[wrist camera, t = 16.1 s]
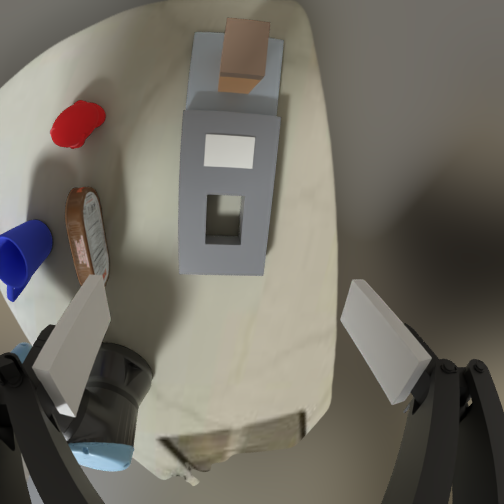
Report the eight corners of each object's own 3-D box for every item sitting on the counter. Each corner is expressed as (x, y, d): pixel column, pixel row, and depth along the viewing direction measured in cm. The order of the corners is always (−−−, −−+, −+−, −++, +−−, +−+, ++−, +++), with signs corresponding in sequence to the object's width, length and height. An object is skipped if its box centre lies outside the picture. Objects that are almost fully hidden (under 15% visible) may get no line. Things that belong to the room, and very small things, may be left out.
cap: (59, 163, 30) (79, 153, 27) (38, 131, 25) (55, 115, 23) (94, 132, 34) (117, 120, 32) (76, 102, 30) (98, 86, 27)
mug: (18, 265, 37) (-10, 293, 28) (26, 206, 33) (-9, 226, 24) (51, 284, 40) (26, 316, 31) (62, 225, 36) (30, 250, 27)
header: (181, 263, 42) (179, 274, 38) (186, 112, 33) (183, 109, 29) (259, 264, 43) (263, 276, 40) (274, 118, 35) (281, 117, 31)
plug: (217, 91, 32) (220, 72, 21) (222, 51, 29) (227, 17, 18) (248, 94, 32) (264, 76, 21) (252, 54, 30) (270, 22, 19)
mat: (186, 112, 33) (185, 111, 32) (195, 33, 28) (195, 31, 27) (274, 118, 35) (276, 118, 34) (282, 41, 30) (283, 40, 29)
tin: (83, 182, 34) (56, 195, 27) (101, 180, 35) (77, 192, 27) (99, 274, 40) (81, 303, 33) (116, 273, 41) (100, 303, 33)
